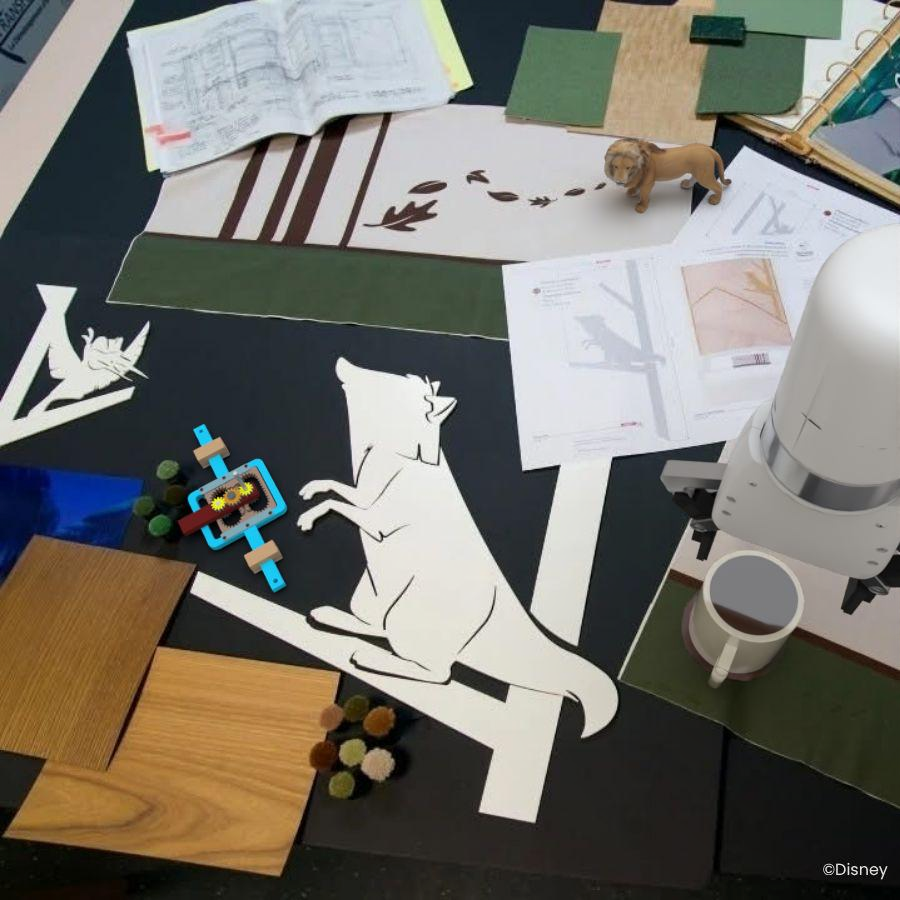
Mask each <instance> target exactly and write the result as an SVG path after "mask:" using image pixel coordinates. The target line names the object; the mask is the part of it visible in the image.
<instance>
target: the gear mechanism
mask: <svg viewBox="0 0 900 900" xmlns="http://www.w3.org/2000/svg"><path fill="white" fill-rule="evenodd" d="M193 432H194V434H195V436H196V438H197V440H198V442H199V444H200V446H199V447H198V448H195V449H194V450H192V452H193V454H194V455H195V458H196V460H197V462H198V463H199V464H200V466H201V467H202V469H206V468H208V467H211V468H212V471H213V473H214V475H215V477H216V478H215V479H214V480H212V481H210V482H208V483H207V484H205V485H203V486H201V487H199V488H198V489H197V490H194V491H192V492H190V493H189V494H188V496H187V502H188V504H189V506H190V508H191V510H192V512H191V513H190V514H188V515H186V516H184V517H182V518H181V519H179V520H177V522H178V525H179V527H180V529H181V532H182V534H183V535H184V536H185V537H188V536H189V535H191V534H193V533H195V532H197V531H199V530H200V531H201V532H202V534H203V536H204V538H205V540H206V542H207V545H208V546H209V547H210V549H212V550H213V551H219V550H222V549H223V548H224V547H226V546H229V545H230V544H231V543H232V544H233V543H234V542H236V541H238V540H240V539H242V538H243V537H245V538H246V540H247V542H248V544H249V546H250V548H251V551H249V552H247V553H246V554H244V555H243V557H244V559H245V561H246V563H247V566H248V568H249V569H250V570H251V571H252V572H253V574H257V573H259V572H260V571H262V572H263V574H264V576H265V579H266V581H267V582H268V583H267V584H268V585H269V586H270V589H271V591H272V592H273V593H276V592H278V591H280V590H282V589H283V588H285V587H287V584H286V582H285V581H284V578H283V576H282V575H281V572H280V570H279V569H278V567H277V564H276V562H279V561H281V560H283V559H284V557H283V555H282V553H281V551H280V549H279V546H277V544H276V543H275V541H274V540H273V539H270V540H269V541H267V542H265V541H264V539H263V537H262V535H261V533H260V531H259V529H260V528H261V527H263V526H265V525H267V524H269V523H271V522H272V521H274V520H276V519H277V518H279V517H281V516H283V515H284V514H286V512H287V510H288V506H287V504H286V502H285V501H284V497H282V494H281V493H280V491H279V489H278V487H277V485H276V483H275V481H274V479H273V478H272V476H271V474H270V472H269V470H268V468H267V467H266V464H265V463H264V461H263V460H262V459H260V458H255V459H253V460H250V461H249V462H247V463H244V464H243V465H241V466H239V467H237V468H235V469H233V470H231V471H229V469H228V467H227V466H226V463H225V462H224V458H227V457H229V456H230V455H231V453H230V452H229V450H228V448H227V445H226V444H225V443H224V441H223V439H222V438H221V436H219V437H217V438H215V439H213V437H212V435H211V433H210V431H209V429H208V427H207V425H206V424H204V423H203V424H201V425H199V426H197V427H196V428H193ZM248 478H249V479H251V478H254V479H256V480H257V482H258V483H259V485H260V487H261V489H262V491H263V492H264V494H265V497H266V499H267V505H266V507H264V508H263V509H261V510H258V511H257V510H252V508H251V506H250V504H251V505H254V503H255V504H256V503H257V501H259V497H260V492H259V490H258V488H257V487H256V485H255V483H254V482H253V481H250V482H244V481H245V480H247V479H248ZM221 493H225V494H223V495H222V496H220V497H219V494H221ZM201 499H204V500H206V503H207V504H206V505H205V506H203V507H201V505H200V503H199V501H200V500H201ZM236 510H238V511H239V513H240V519H238V520H239V521H238V522H237V523H236V524H234V525H227V524H225V522H224V520H226V519H227V518H230V516H231V515H232V513H233V512H234V511H236ZM223 519H224V520H223ZM213 522H216V523H217V525H218V527H219V529H220V531H221V534H220V537H219V538H216V537H215V536H214V533H213V531H212V529H211V527H210V524H212V523H213Z"/></svg>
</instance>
